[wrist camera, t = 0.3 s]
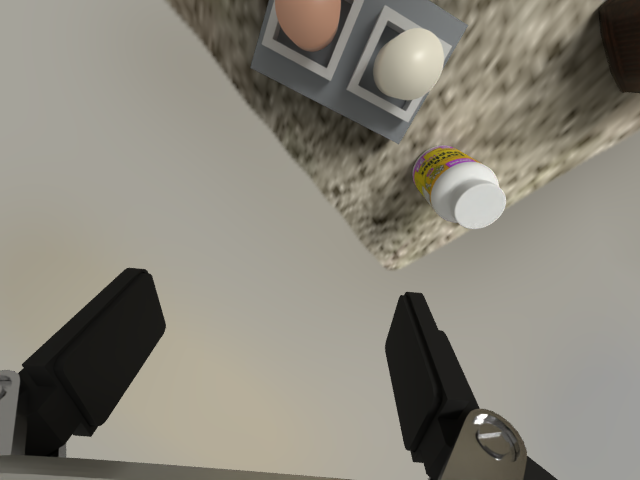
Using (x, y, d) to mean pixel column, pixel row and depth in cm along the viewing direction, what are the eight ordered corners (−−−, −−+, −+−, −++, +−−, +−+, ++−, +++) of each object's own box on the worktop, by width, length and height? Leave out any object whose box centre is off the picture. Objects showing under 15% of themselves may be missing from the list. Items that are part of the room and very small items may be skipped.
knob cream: (390, 26, 24) (403, 14, 20) (435, 53, 25) (457, 47, 21) (363, 83, 27) (370, 83, 22) (406, 106, 28) (420, 110, 23)
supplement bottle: (452, 133, 35) (509, 158, 24) (468, 177, 37) (526, 218, 26) (402, 161, 37) (434, 196, 26) (421, 201, 39) (457, 248, 28)
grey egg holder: (298, -65, 26) (290, -101, 21) (452, 32, 30) (478, 21, 24) (258, 69, 32) (245, 66, 27) (392, 138, 35) (402, 147, 30)
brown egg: (296, -30, 23) (289, -56, 18) (348, 1, 24) (352, -17, 19) (277, 35, 25) (265, 25, 21) (324, 61, 26) (323, 57, 22)
